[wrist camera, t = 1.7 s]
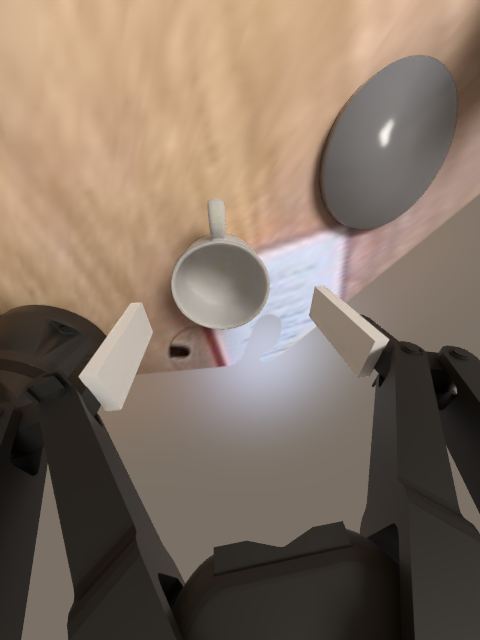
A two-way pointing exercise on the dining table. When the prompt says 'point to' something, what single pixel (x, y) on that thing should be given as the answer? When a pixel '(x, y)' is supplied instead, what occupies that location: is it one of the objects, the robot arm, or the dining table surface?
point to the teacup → (220, 277)
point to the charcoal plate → (389, 142)
